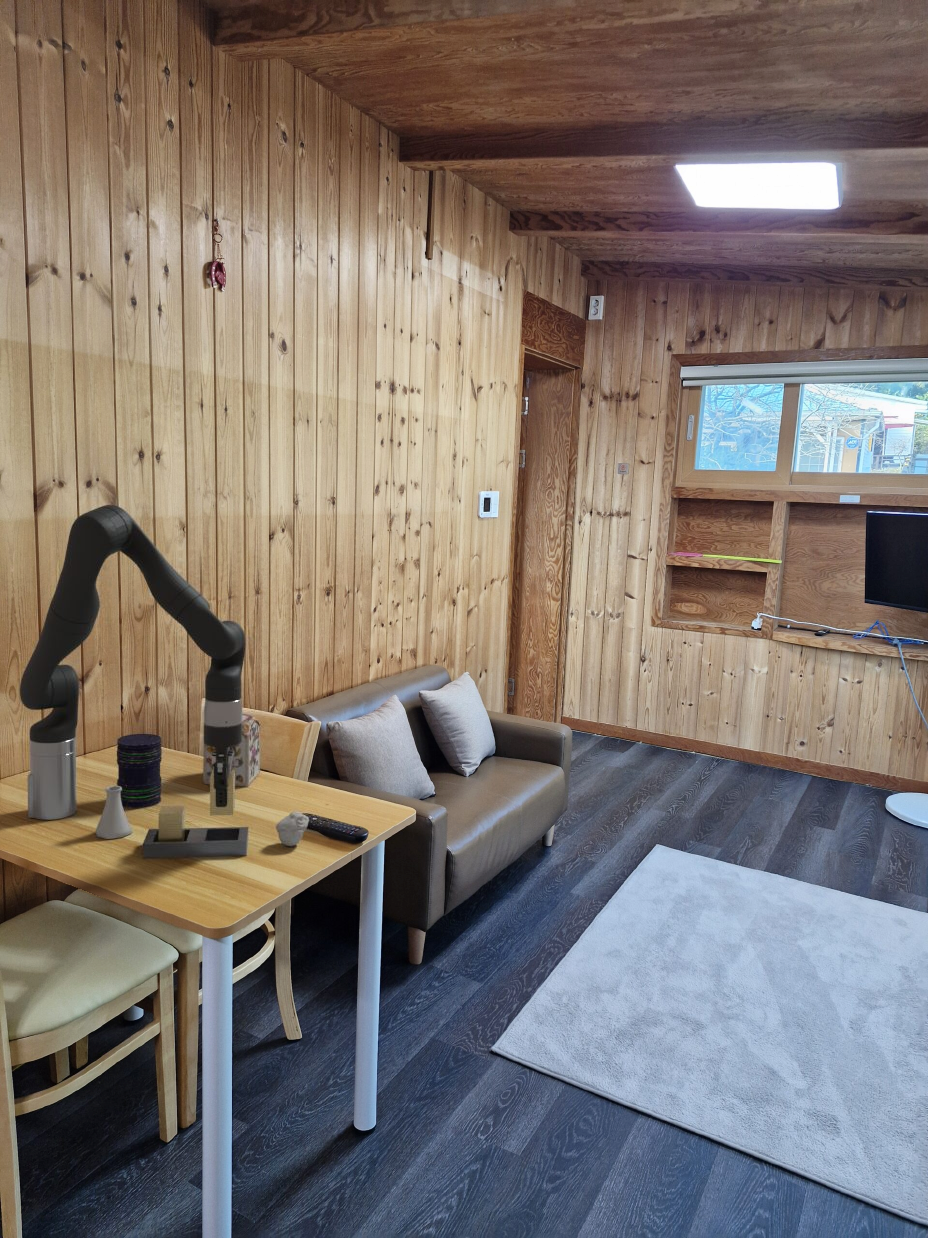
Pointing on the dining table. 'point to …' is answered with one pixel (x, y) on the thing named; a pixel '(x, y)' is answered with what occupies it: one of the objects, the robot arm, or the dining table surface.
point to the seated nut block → (172, 824)
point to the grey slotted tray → (199, 843)
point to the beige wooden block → (230, 796)
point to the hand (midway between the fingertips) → (222, 802)
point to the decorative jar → (240, 754)
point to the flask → (113, 816)
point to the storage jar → (139, 770)
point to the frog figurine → (292, 828)
